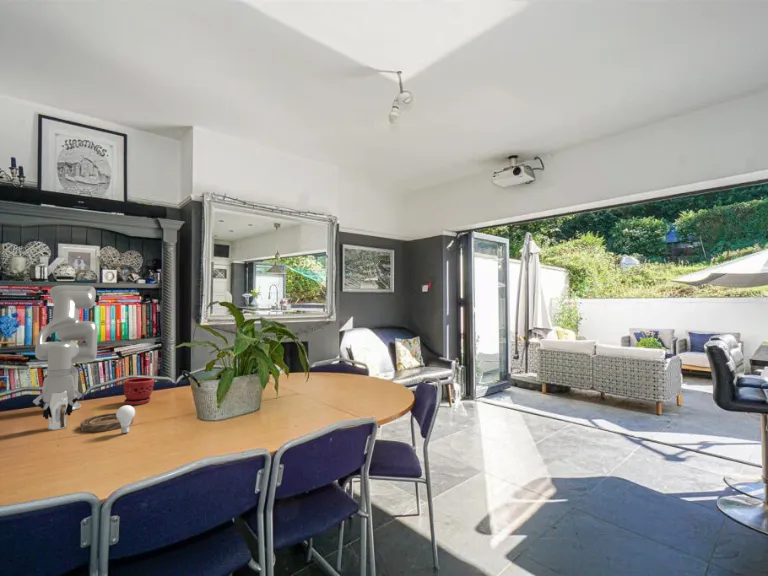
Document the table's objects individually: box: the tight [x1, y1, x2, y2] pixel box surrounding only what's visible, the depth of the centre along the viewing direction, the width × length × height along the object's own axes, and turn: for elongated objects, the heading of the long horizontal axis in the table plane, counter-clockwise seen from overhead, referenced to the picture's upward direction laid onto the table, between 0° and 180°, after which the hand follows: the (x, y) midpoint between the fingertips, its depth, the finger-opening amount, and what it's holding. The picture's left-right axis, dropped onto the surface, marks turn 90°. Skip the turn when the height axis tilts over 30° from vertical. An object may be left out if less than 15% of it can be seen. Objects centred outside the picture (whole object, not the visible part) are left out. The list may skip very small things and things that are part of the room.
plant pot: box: [123, 377, 155, 406], centre depth 198 cm, size 13×13×12 cm
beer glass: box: [47, 391, 69, 431], centre depth 159 cm, size 7×7×15 cm
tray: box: [80, 412, 135, 433], centre depth 163 cm, size 18×18×3 cm
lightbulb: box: [115, 404, 136, 434], centre depth 153 cm, size 6×6×11 cm
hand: (57, 416), depth 159 cm, fingers closed on beer glass, 6 cm apart
